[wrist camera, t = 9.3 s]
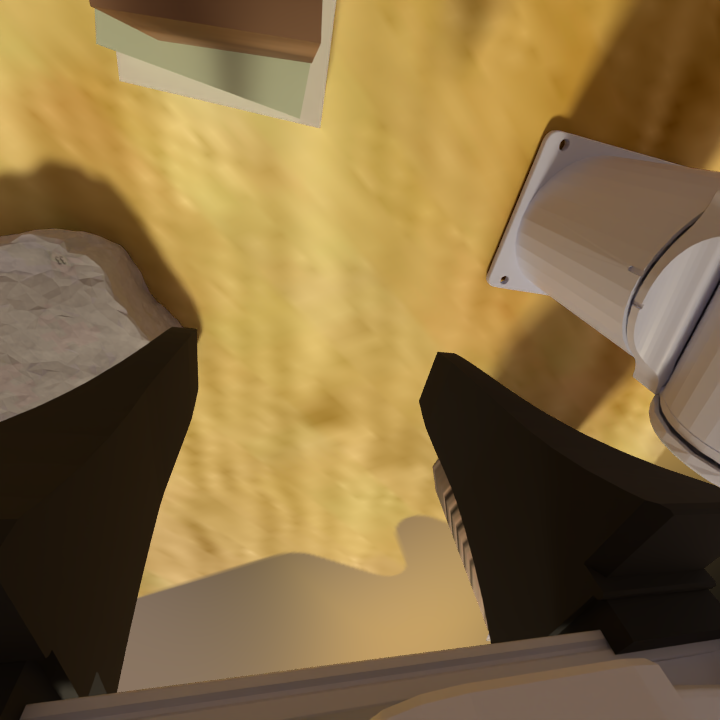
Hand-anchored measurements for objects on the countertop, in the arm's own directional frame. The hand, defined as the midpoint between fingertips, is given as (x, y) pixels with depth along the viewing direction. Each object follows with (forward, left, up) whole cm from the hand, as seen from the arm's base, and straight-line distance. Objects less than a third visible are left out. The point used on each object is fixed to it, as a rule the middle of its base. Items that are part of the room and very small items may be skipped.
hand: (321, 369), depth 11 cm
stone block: (+13, +5, -11) cm, 18 cm away
